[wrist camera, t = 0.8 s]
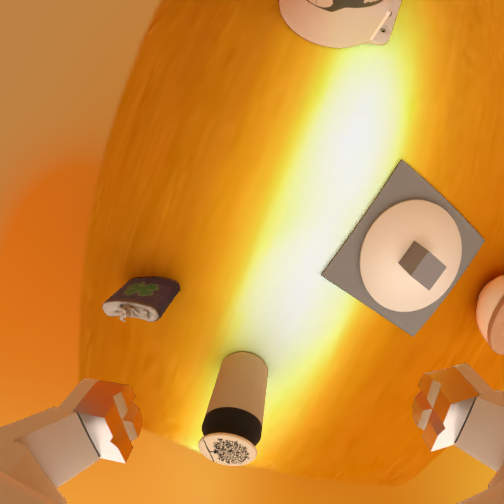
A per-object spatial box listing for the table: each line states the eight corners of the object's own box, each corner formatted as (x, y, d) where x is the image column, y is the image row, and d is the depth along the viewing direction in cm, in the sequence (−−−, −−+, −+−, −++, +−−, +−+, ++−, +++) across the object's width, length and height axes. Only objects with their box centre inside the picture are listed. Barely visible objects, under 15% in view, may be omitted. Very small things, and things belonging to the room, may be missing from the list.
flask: (129, 291, 48) (97, 322, 37) (127, 274, 47) (92, 303, 36) (181, 294, 47) (156, 329, 36) (180, 277, 46) (153, 309, 36)
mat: (400, 159, 37) (401, 159, 37) (483, 239, 39) (484, 240, 38) (320, 274, 43) (321, 275, 43) (412, 335, 45) (413, 336, 44)
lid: (404, 174, 37) (422, 178, 32) (475, 242, 39) (495, 254, 33) (335, 272, 42) (342, 290, 37) (413, 326, 44) (426, 346, 38)
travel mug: (268, 351, 48) (258, 436, 31) (267, 387, 50) (259, 469, 33) (219, 349, 49) (191, 430, 32) (223, 384, 51) (200, 463, 34)
